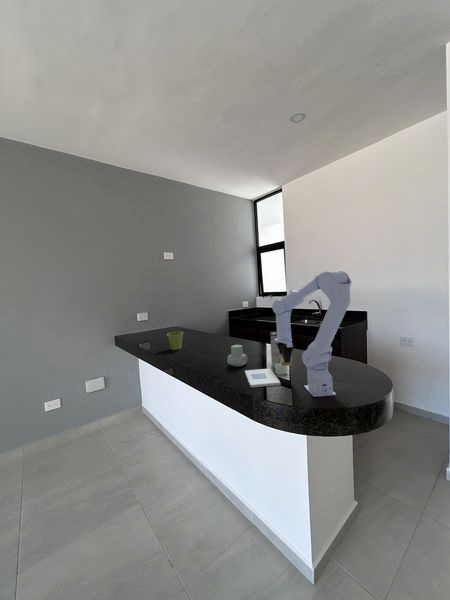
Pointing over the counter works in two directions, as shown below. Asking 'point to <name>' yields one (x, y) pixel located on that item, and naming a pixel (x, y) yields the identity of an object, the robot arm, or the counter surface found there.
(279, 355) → the maple block
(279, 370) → the sage block
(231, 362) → the air freshener
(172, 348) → the plant pot
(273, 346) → the coffee box
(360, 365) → the counter surface
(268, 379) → the plate
